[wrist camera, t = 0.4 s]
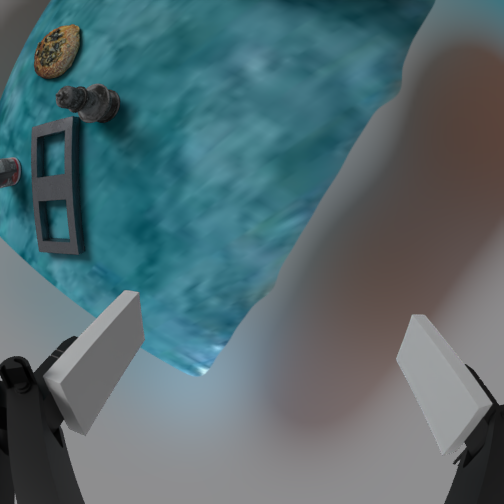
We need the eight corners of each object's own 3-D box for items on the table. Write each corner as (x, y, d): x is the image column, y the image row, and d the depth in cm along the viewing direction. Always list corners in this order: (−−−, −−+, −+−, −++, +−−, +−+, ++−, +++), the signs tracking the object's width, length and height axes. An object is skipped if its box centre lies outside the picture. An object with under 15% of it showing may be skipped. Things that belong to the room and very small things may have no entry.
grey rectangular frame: (39, 127, 36) (32, 127, 34) (80, 117, 35) (72, 116, 33) (45, 248, 43) (39, 251, 41) (85, 250, 42) (78, 254, 40)
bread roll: (32, 60, 32) (18, 53, 27) (74, 19, 31) (63, 9, 26) (50, 93, 34) (35, 87, 30) (96, 48, 33) (84, 38, 28)
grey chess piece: (88, 125, 36) (37, 121, 24) (93, 90, 34) (44, 76, 23) (119, 123, 36) (70, 115, 24) (124, 86, 34) (77, 67, 22)
